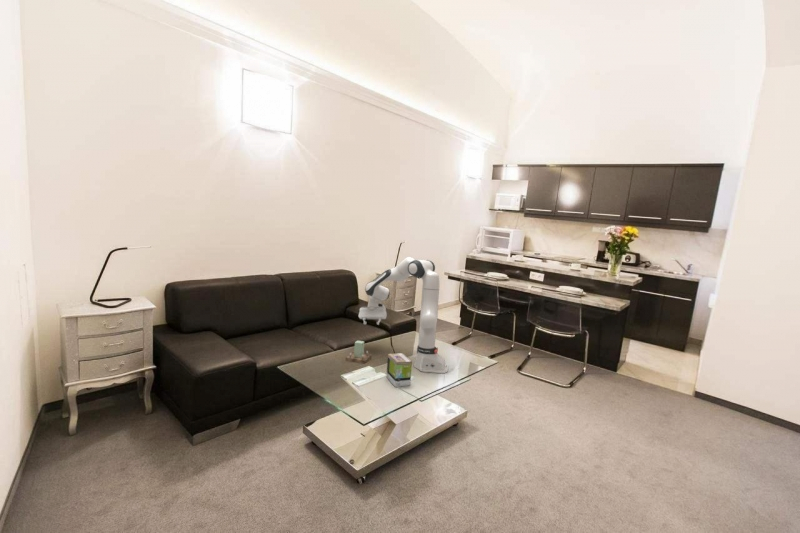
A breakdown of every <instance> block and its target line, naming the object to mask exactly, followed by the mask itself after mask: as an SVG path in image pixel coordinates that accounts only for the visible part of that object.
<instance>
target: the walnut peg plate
mask: <svg viewBox="0 0 800 533" xmlns="http://www.w3.org/2000/svg"><path fill="white" fill-rule="evenodd" d="M370 358H371V359H372V354H369V351H368V350H366V351H365V353H364V355H361V358H358V357H354V351H352V352H349V354H348V355H347V356H345V359H344V360H345V361H346V362H347V361H349V362H353V363H358V364H359V363H360V364H366V363H367V362H369V361H370V360H371V359H370ZM369 359H370V360H369Z"/></svg>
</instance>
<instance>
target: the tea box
mask: <svg viewBox="0 0 800 533" xmlns="http://www.w3.org/2000/svg"><path fill="white" fill-rule="evenodd" d="M412 368H413V361H412V360H411V359H410V358H409V357H408V356H407V355H405V354H404V353H402V352H401V353H398V352H397V353H388V354H387V364H386V378H387V379H388V381H389V382H390V383H391V384H392V385H393V386H394V387H396V388H398V387H399V388H401V387H407V386H411V378H412Z"/></svg>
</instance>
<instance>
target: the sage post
mask: <svg viewBox="0 0 800 533" xmlns="http://www.w3.org/2000/svg"><path fill="white" fill-rule="evenodd" d="M353 352H354V357H358V358H361V355H364V354H365V353H364V352H365V341H363V340H356V341H355V342H354V351H353Z"/></svg>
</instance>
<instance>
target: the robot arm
mask: <svg viewBox="0 0 800 533" xmlns="http://www.w3.org/2000/svg"><path fill="white" fill-rule="evenodd" d="M435 270H436V265H435V262H433V261H432V260H429V259H415V258H413V257H412V256H407V257H405V258H404V259H402V261H400V262H399V263H398V264H397V265H396V266H394V267H392V268H390V269H386V270H384V271H383V272H382V273H381V274H379V275H378V276H377V277H376V278H374V279H373V280H371V281H369V282H368V283H367V284H366V285H365V287H364V291H365V294H366V296H368V298H369V299H368V302H367V306H361V307H360V308H359V312H358V315H357V316H358V318H359V320H362V321H363V325H367V321H366V320H378V321H376V325H378V326H379V325H380V322H381V321H382V320H386V319H387V315H388V313H387V307H386V305H385V304H383V303H381V302H384V301H387V300H388V299H390V295H391V293H390V289H389V288H387V287H385V286H383V285H382V284H383V283H385V282H387V281H391V282H392V281H393V282H404V281H406V280H407V279H408V278H409V277H410V276H413V277H415V278H417V279H419V280H420V279H421V280H422V286H421V287H422V288H421V302H420V304H421V305H420V316H419V329H418V330H419V331H418V341H417V342H418V343H417V344H418V345H417V348H416V358H415V362H414V364H413V366H414V368H415V369H417V370H419V371H420V372H423V373H431V374H432V373H433V374H442V375H443V374H446V373H448V371H449V366H448V365H446V361H445V358H444V357H443V356H442V355H441V354H440V353H439V352H438V350H439V347H436V336H437V335H436V334H437V323H438V316H439V314H438V311H439V298H440V296H439V295H440V274H439V273H438V272H436V271H435Z"/></svg>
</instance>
